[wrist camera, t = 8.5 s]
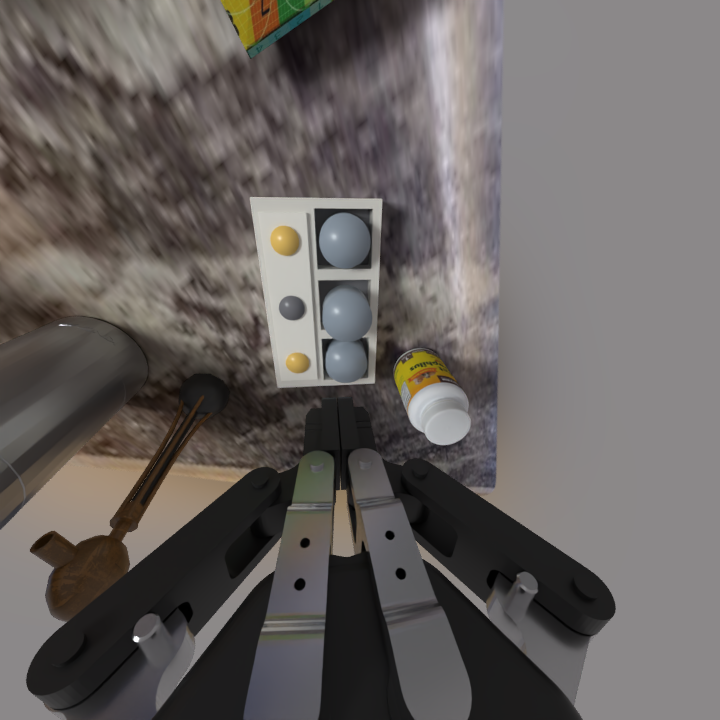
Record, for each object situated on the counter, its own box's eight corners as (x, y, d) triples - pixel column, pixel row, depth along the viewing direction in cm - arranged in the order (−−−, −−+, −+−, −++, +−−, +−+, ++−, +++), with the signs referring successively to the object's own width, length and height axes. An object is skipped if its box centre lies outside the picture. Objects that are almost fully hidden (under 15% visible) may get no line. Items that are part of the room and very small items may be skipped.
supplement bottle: (444, 346, 33) (489, 401, 24) (434, 388, 35) (471, 452, 26) (395, 344, 32) (422, 401, 23) (388, 387, 34) (410, 453, 25)
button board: (371, 371, 33) (374, 383, 31) (280, 375, 32) (277, 387, 30) (377, 199, 25) (382, 198, 23) (256, 197, 24) (249, 197, 22)
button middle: (367, 327, 27) (371, 341, 25) (323, 328, 27) (323, 342, 24) (368, 284, 25) (373, 294, 23) (321, 285, 25) (321, 295, 22)
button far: (363, 367, 32) (367, 382, 29) (326, 368, 31) (326, 383, 29) (364, 333, 30) (367, 345, 27) (324, 334, 30) (324, 347, 27)
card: (317, 377, 30) (317, 380, 29) (281, 379, 30) (280, 382, 29) (306, 212, 23) (305, 212, 22) (258, 212, 22) (257, 212, 22)
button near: (365, 261, 27) (369, 268, 24) (321, 262, 26) (320, 268, 24) (366, 212, 25) (371, 213, 22) (318, 211, 24) (317, 213, 22)
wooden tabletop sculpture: (169, 371, 31) (-41, 600, 13) (210, 359, 30) (55, 574, 13) (198, 414, 33) (58, 648, 16) (236, 403, 33) (137, 627, 16)
